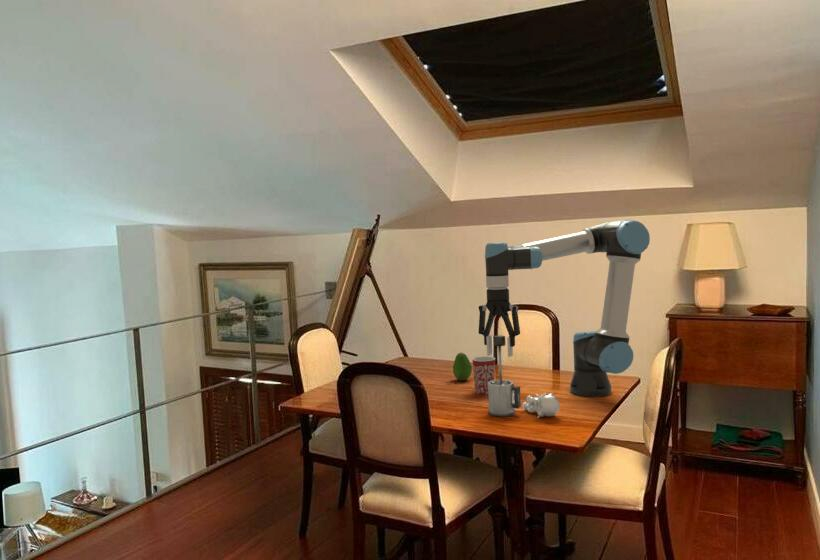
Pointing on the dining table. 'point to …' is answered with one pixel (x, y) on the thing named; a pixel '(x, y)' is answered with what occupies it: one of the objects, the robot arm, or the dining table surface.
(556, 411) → the figurine
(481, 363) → the mug
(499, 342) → the plunger
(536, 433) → the dining table surface
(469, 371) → the avocado
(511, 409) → the grey coffee mug
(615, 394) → the dining table surface
